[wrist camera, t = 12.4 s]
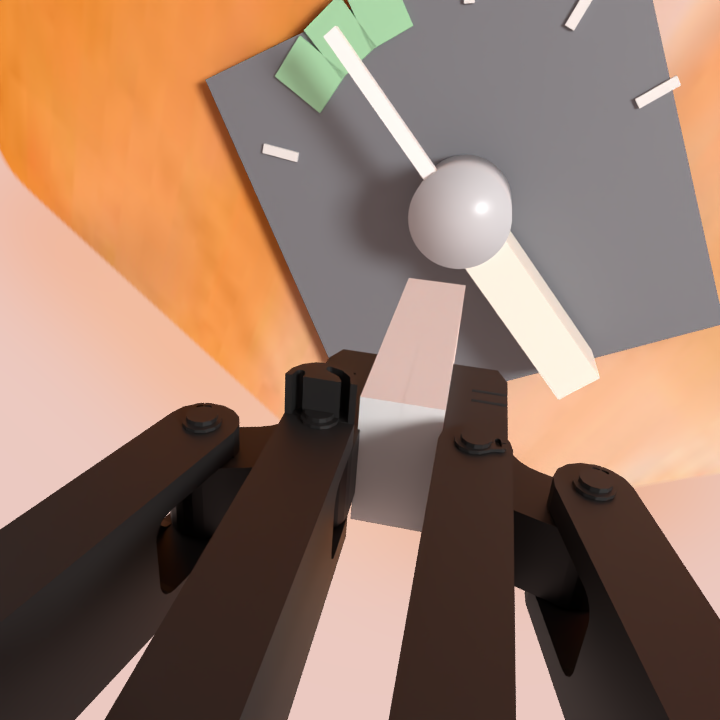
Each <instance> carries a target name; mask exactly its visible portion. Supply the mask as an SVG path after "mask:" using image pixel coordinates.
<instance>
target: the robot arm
mask: <svg viewBox="0 0 720 720" xmlns="http://www.w3.org/2000/svg"><path fill="white" fill-rule="evenodd" d="M465 287H466V285H459V284H451V283H444V282H436V281H428V280H421V279H413V278H409V279H408V281H407V283H406V286H405V288H404V291H403V293H402V296H401V298H400V301H399V303H398V306H397V308H396V310H395V313H394V315H393V318H392V320H391V323H390V325H389V328H388V330H387V332H386V335H385V337H384V340H383V342H382V345H381V347H380V350H379V352H378V354H373V353H366V352H359V351H353V350H346V349H343V350H341V351H339V352H338V353H336V354H334V355H333V356H331V357H329V359H328V361H327V362H326V363H317V362H315V363H307V364H302V365H299V366H296V367H293V368H292V369H290V370H289V371H288V372H287V373H286V374H285V413H284V415H283V417H282V418H281V420H280V422H279V424H276V425H272V426H263V427H239V417H238V415H237V414H236V413H235V412H234V411H233V410H231V409H229V408H227V407H225V406H222V405H217V404H212V403H206V404H204V403H197V404H194V405H189V406H185V407H182V408H180V409H178V410H176V411H174V412H172V413H170V414H169V415H167V416H166V417H165V418H163V419H162V420H160V421H159V422H157V423H156V424H154V425H153V426H151V427H150V428H148V429H147V430H145V431H144V432H143V433H141V434H140V435H138V436H137V437H135V438H134V439H132V440H131V441H129V442H128V443H126V444H125V445H123V446H122V447H121V448H119V449H118V450H116V451H115V452H113V453H112V454H110V455H109V456H107V457H106V458H104V459H103V460H101V461H100V462H99V463H97V464H96V465H94V466H93V467H91V468H90V469H88V470H87V471H85V472H84V473H82V474H81V475H79V476H78V477H77V478H75V479H74V480H72V481H71V482H69V483H68V484H66V485H65V486H63V487H62V488H60V489H59V490H58V491H56V492H55V493H53V494H52V495H50V496H49V497H47V498H46V499H44V500H43V501H41V502H40V503H39V504H37V505H36V506H34V507H33V508H31V509H30V510H28V511H27V512H26V513H24V514H22V515H21V516H20V517H18V518H16V519H15V520H14V521H12V522H11V523H9V524H8V525H6V526H5V527H3V528H2V529H0V720H75V719H76V718H77V717H78V716H79V715H80V714H81V713H82V712H83V711H84V709H85V708H86V707H87V706H88V705H89V704H90V703H91V702H92V701H93V700H94V699H95V698H96V697H97V696H98V694H99V693H100V692H101V691H102V690H103V689H104V688H105V687H106V686H107V685H108V684H109V682H110V681H111V680H112V679H113V678H114V677H115V676H116V675H117V674H118V673H119V672H120V671H121V670H122V669H123V668H124V667H125V666H126V665H127V663H128V662H129V661H130V660H131V659H132V658H133V657H134V656H135V655H136V654H137V653H138V652H139V651H140V649H141V648H142V647H143V646H144V645H145V644H146V643H147V642H148V641H149V640H150V639H151V638H152V637H153V636H154V637H153V638H152V640H151V642H150V643H149V645H148V647H147V648H146V650H145V652H144V654H143V655H142V657H141V659H140V660H139V662H138V664H137V665H136V667H135V669H134V671H133V672H132V674H131V676H130V677H129V679H128V681H127V682H126V684H125V686H124V688H123V689H122V691H121V693H120V694H119V696H118V698H117V700H116V701H115V703H114V705H113V706H112V708H111V710H110V711H109V713H108V715H107V716H106V718H105V720H287V719H288V716H289V713H290V709H291V707H292V704H293V700H294V697H295V694H296V691H297V688H298V685H299V682H300V678H301V675H302V672H303V669H304V666H305V663H306V660H307V656H308V653H309V650H310V647H311V644H312V641H313V637H314V634H315V631H316V628H317V625H318V622H319V619H320V616H321V612H322V609H323V606H324V603H325V600H326V597H327V594H328V590H329V587H330V584H331V581H332V578H333V575H334V572H335V568H336V565H337V562H338V559H339V556H340V553H341V550H342V546H343V543H344V540H345V537H346V526H347V515H348V512H349V509H350V506H351V503H352V507H351V519H355V520H361V521H366V522H371V523H377V524H382V525H387V526H393V527H398V528H404V529H409V530H414V531H420V532H422V533H421V539H420V544H419V550H418V556H417V561H416V567H415V573H414V578H413V585H412V590H411V596H410V602H409V607H408V613H407V618H406V624H405V630H404V636H403V641H402V647H401V652H400V659H399V664H398V670H397V676H396V681H395V687H394V692H393V698H392V704H391V710H390V716H389V720H516V689H515V688H516V686H515V607H514V606H515V604H514V602H515V601H514V600H515V598H514V586H515V587H518V588H520V589H522V590H524V591H525V602H526V606H527V609H528V612H529V614H530V618H531V620H532V623H533V626H534V630H535V633H536V635H537V638H538V641H539V644H540V647H541V650H542V653H543V656H544V659H545V662H546V665H547V668H548V670H549V674H550V677H551V680H552V682H553V686H554V689H555V691H556V694H557V697H558V700H559V703H560V706H561V709H562V712H563V715H564V718H565V720H720V619H719V617H718V616H717V614H716V613H715V611H714V610H713V608H712V607H711V605H710V604H709V602H708V601H707V599H706V598H705V596H704V595H703V593H702V592H701V590H700V588H699V587H698V586H697V584H696V582H695V581H694V579H693V578H692V576H691V575H690V573H689V572H688V570H687V569H686V567H685V566H684V565H683V563H682V561H681V560H680V558H679V557H678V555H677V554H676V552H675V550H674V549H673V547H672V546H671V544H670V543H669V541H668V540H667V538H666V537H665V535H664V534H663V532H662V531H661V529H660V528H659V526H658V525H657V523H656V522H655V520H654V518H653V517H652V515H651V514H650V512H649V511H648V509H647V508H646V507H645V505H644V503H643V502H642V500H641V499H640V497H639V496H638V494H637V493H636V491H635V490H634V488H633V487H632V486H631V485H630V484H629V483H628V482H627V481H626V480H625V479H624V478H623V477H621V476H619V475H618V474H616V473H614V472H613V471H611V470H609V469H606V468H604V467H603V468H602V467H601V466H597V465H591V464H584V463H576V464H567V465H565V466H563V467H561V468H558V469H557V471H556V473H555V474H554V476H553V477H551V476H548V475H546V474H543V473H540V472H538V471H536V470H533V469H531V468H529V467H527V466H526V465H524V464H523V463H521V462H520V461H519V460H518V459H517V458H515V457H514V456H513V449H512V447H511V444H510V442H509V441H508V418H507V381H506V380H505V379H504V378H503V376H502V375H501V374H500V373H499V371H498V370H491V369H484V368H478V367H471V366H464V365H458V364H454V361H455V354H456V348H457V341H458V334H459V328H460V321H461V314H462V307H463V301H464V294H465ZM169 512H170V514H169V515H167V514H168V513H169ZM166 515H167V516H166Z"/></svg>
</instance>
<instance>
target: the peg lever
mask: <svg viewBox="0 0 720 720" xmlns="http://www.w3.org/2000/svg"><path fill="white" fill-rule="evenodd" d="M323 37H324V38H325V40H326V41H327V43H328V44H329V46H330V47H331V48H332V50H333V51H334V53H335V54H336V56H337V57H338V58H339V60H340V61H341V63H342V64H343V66H344V67H345V68H346V70H347V71H348V73H349V74H350V75H351V77H352V78H353V80H354V81H355V83H356V84H357V85H358V87H359V88H360V90H361V91H362V93H363V94H364V95H365V97H366V98H367V100H368V101H369V103H370V104H371V105H372V107H373V108H374V110H375V111H376V113H377V114H378V115H379V117H380V118H381V120H382V121H383V122H384V124H385V125H386V127H387V128H388V130H389V131H390V132H391V134H392V135H393V137H394V138H395V140H396V141H397V142H398V144H399V145H400V147H401V148H402V150H403V151H404V152H405V154H406V155H407V157H408V158H409V160H410V161H411V162H412V164H413V165H414V167H415V168H416V169H417V171H418V172H419V174H420V175H421V177H422V178H423V179H424V180H423V181H422V183H421V184H420V186H419V187H418V189H417V190H416V192H415V194H414V196H413V198H412V200H411V203H410V207H409V213H408V224H409V230H410V233H411V237H412V239H413V241H414V243H415V245H416V246H417V248H418V249H419V250H420V251H421V253H422V254H423V255H424V256H426V257H427V258H428V259H429V260H431V261H432V262H434V263H436V264H438V265H441V266H443V267H447V268H453V269H466V270H467V272H468V273H469V275H470V276H471V277H472V279H473V280H474V282H475V283H476V284H477V286H478V287H479V289H480V290H481V292H482V293H483V294H484V296H485V297H486V299H487V300H488V301H489V303H490V304H491V306H492V307H493V308H494V310H495V311H496V313H497V314H498V315H499V317H500V318H501V320H502V321H503V322H504V324H505V325H506V327H507V328H508V329H509V331H510V332H511V334H512V335H513V337H514V338H515V339H516V341H517V342H518V344H519V345H520V346H521V348H522V349H523V351H524V352H525V353H526V355H527V356H528V358H529V359H530V360H531V362H532V363H533V365H534V366H535V367H536V369H537V370H538V372H539V373H540V375H541V376H542V377H543V379H544V380H545V382H546V383H547V384H548V386H549V387H550V389H551V390H552V391H553V393H554V394H555V396H556V397H557V398H558V400H559V399H561V398H563V397H565V396H567V395H568V394H570V393H572V392H574V391H576V390H578V389H580V388H582V387H584V386H586V385H588V384H589V383H591V382H593V381H595V380H597V379H599V378H600V377H599V373H598V370H597V366H596V363H595V359H594V356H593V352H592V350H591V348H590V347H589V345H588V344H587V342H586V341H585V340H584V338H583V337H582V335H581V334H580V332H579V331H578V329H577V328H576V326H575V325H574V323H573V322H572V320H571V319H570V318H569V316H568V315H567V313H566V312H565V310H564V309H563V307H562V306H561V304H560V303H559V301H558V300H557V298H556V297H555V295H554V294H553V293H552V291H551V290H550V288H549V287H548V285H547V284H546V282H545V281H544V279H543V278H542V276H541V275H540V273H539V272H538V271H537V269H536V268H535V266H534V265H533V263H532V262H531V260H530V259H529V257H528V256H527V254H526V253H525V251H524V250H523V249H522V247H521V246H520V244H519V243H518V241H517V240H516V238H515V237H514V235H513V234H512V232H511V231H510V229H511V224H512V198H511V191H510V187H509V184H508V181H507V179H506V177H505V176H504V174H503V173H502V172H501V170H500V169H499V168H498V167H497V166H496V165H494V164H493V163H492V162H490V161H488V160H487V159H485V158H482V157H479V156H475V155H457V156H453V157H450V158H447V159H445V160H443V161H441V162H440V163H438V164H437V165H436V166H434V164H433V163H432V161H431V160H430V159H429V157H428V156H427V154H426V153H425V151H424V150H423V148H422V147H421V146H420V144H419V143H418V141H417V140H416V138H415V137H414V135H413V134H412V133H411V131H410V130H409V128H408V127H407V125H406V124H405V122H404V121H403V120H402V118H401V117H400V115H399V114H398V112H397V111H396V109H395V108H394V107H393V105H392V104H391V102H390V101H389V99H388V98H387V97H386V95H385V94H384V92H383V91H382V89H381V88H380V86H379V85H378V84H377V82H376V81H375V79H374V78H373V76H372V75H371V73H370V72H369V71H368V69H367V68H366V66H365V65H364V63H363V62H362V60H361V59H360V58H359V56H358V55H357V53H356V52H355V50H354V49H353V48H352V46H351V45H350V43H349V42H348V40H347V39H346V37H345V36H344V35H343V33H342V32H341V30H340V29H339V27H338V26H334V27H333V28H332V29H331V30H330V31H329V32H328V33H327V34H326V35H324V36H323Z"/></svg>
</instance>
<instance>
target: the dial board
mask: <svg viewBox="0 0 720 720" xmlns="http://www.w3.org/2000/svg"><path fill="white" fill-rule="evenodd" d="M348 2H349V4H350V6H351V8H352V9H349V8H348V7H347V5H346V4H345V3H344V1H343V0H333V1H332V2H331V3H330V4H329V5H328V6H327V7H326V8H325V9H324V10H323V11H322V12H321V13H320V14H319V15H318V16H317V17H316V18H315V19H314V20H313V21H312V22H311V23H310V24H309V25H308V26H307V27H306V28H305V29H304V31H305V32H302V33H300V34H298V35H296V36H294V37H292V38H290V39H288V40H286V41H284V42H282V43H280V44H278V45H276V46H274V47H272V48H270V49H268V50H266V51H263V52H261V53H259V54H257V55H255V56H253V57H251V58H249V59H247V60H245V61H243V62H241V63H239V64H237V65H235V66H233V67H231V68H229V69H227V70H224V71H222V72H220V73H218V74H216V75H214V76H212V77H210V78H208V79H206V82H207V84H208V87H209V89H210V91H211V93H212V96H213V98H214V100H215V102H216V105H217V107H218V109H219V111H220V114H221V116H222V118H223V120H224V123H225V125H226V127H227V129H228V132H229V134H230V136H231V138H232V141H233V143H234V145H235V148H236V150H237V152H238V154H239V157H240V159H241V161H242V163H243V166H244V168H245V170H246V172H247V175H248V177H249V179H250V181H251V184H252V186H253V188H254V190H255V193H256V195H257V197H258V199H259V202H260V204H261V206H262V208H263V211H264V213H265V215H266V217H267V220H268V222H269V224H270V226H271V229H272V231H273V233H274V236H275V238H276V240H277V242H278V245H279V247H280V249H281V251H282V254H283V256H284V258H285V260H286V263H287V265H288V267H289V269H290V272H291V274H292V276H293V278H294V281H295V283H296V285H297V287H298V290H299V292H300V294H301V296H302V299H303V301H304V303H305V305H306V308H307V310H308V312H309V314H310V317H311V319H312V321H313V324H314V326H315V328H316V330H317V333H318V335H319V337H320V339H321V342H322V344H323V346H324V348H325V351H326V353H327V355H328V357H331V356H333V355H334V354H336V353H338V352H339V351H341V350H343V349H346V350H353V351H359V352H366V353H373V354H378V352H379V350H380V347H381V345H382V342H383V340H384V337H385V335H386V332H387V330H388V328H389V325H390V323H391V320H392V318H393V315H394V313H395V310H396V308H397V306H398V303H399V301H400V298H401V296H402V293H403V291H404V288H405V286H406V283H407V281H408V279H409V278H413V279H421V280H428V281H436V282H444V283H451V284H459V285H466V287H465V294H464V301H463V307H462V314H461V321H460V328H459V334H458V341H457V348H456V354H455V361H454V364H458V365H464V366H471V367H478V368H484V369H491V370H498V371H499V373H500V374H501V375H502V376H503V378H504V379H505V380H506V381H509V380H513V379H516V378H520V377H524V376H528V375H532V374H535V373H539V372H538V370H537V369H536V367H535V366H534V365H533V363H532V362H531V360H530V359H529V358H528V356H527V355H526V353H525V352H524V351H523V349H522V348H521V346H520V345H519V344H518V342H517V341H516V339H515V338H514V337H513V335H512V334H511V332H510V331H509V329H508V328H507V327H506V325H505V324H504V322H503V321H502V320H501V318H500V317H499V315H498V314H497V313H496V311H495V310H494V308H493V307H492V306H491V304H490V303H489V301H488V300H487V299H486V297H485V296H484V294H483V293H482V292H481V290H480V289H479V287H478V286H477V284H476V283H475V282H474V280H473V279H472V277H471V276H470V275H469V273H468V272H467V270H466V269H453V268H447V267H443V266H441V265H438V264H436V263H434V262H432V261H431V260H429V259H428V258H427V257H426V256H424V255H423V254H422V253H421V251H420V250H419V249H418V248H417V246H416V245H415V243H414V241H413V239H412V237H411V233H410V230H409V224H408V213H409V207H410V203H411V200H412V198H413V196H414V194H415V192H416V190H417V189H418V187H419V186H420V184H421V183H422V181H423V180H424V179H423V178H422V177H421V175H420V174H419V172H418V171H417V169H416V168H415V167H414V165H413V164H412V162H411V161H410V160H409V158H408V157H407V155H406V154H405V152H404V151H403V150H402V148H401V147H400V145H399V144H398V142H397V141H396V140H395V138H394V137H393V135H392V134H391V132H390V131H389V130H388V128H387V127H386V125H385V124H384V122H383V121H382V120H381V118H380V117H379V115H378V114H377V113H376V111H375V110H374V108H373V107H372V105H371V104H370V103H369V101H368V100H367V98H366V97H365V95H364V94H363V93H362V91H361V90H360V88H359V87H358V85H357V84H356V83H355V81H354V80H353V78H352V77H351V75H350V74H349V73H348V71H347V70H346V68H345V67H344V66H343V64H342V63H341V61H340V60H339V58H338V57H337V56H336V54H335V53H334V51H333V50H332V48H331V47H330V46H329V44H328V43H327V41H326V40H325V38H324V37H323V36H324V35H326V34H327V33H328V32H329V31H330V30H331V29H332V28H333V27H334V26H338V27H339V29H340V30H341V32H342V33H343V35H344V36H345V37H346V39H347V40H348V42H349V43H350V45H351V46H352V48H353V49H354V50H355V52H356V53H357V55H358V56H359V58H360V59H361V60H362V62H363V63H364V65H365V66H366V68H367V69H368V71H369V72H370V73H371V75H372V76H373V78H374V79H375V81H376V82H377V84H378V85H379V86H380V88H381V89H382V91H383V92H384V94H385V95H386V97H387V98H388V99H389V101H390V102H391V104H392V105H393V107H394V108H395V109H396V111H397V112H398V114H399V115H400V117H401V118H402V120H403V121H404V122H405V124H406V125H407V127H408V128H409V130H410V131H411V133H412V134H413V135H414V137H415V138H416V140H417V141H418V143H419V144H420V146H421V147H422V148H423V150H424V151H425V153H426V154H427V156H428V157H429V159H430V160H431V161H432V163H433V164H434V166H436V165H437V164H438V163H440V162H441V161H443V160H445V159H447V158H450V157H453V156H457V155H475V156H479V157H482V158H485V159H487V160H488V161H490V162H492V163H493V164H494V165H496V166H497V167H498V168H499V169H500V170H501V172H502V173H503V174H504V176H505V177H506V179H507V181H508V184H509V187H510V191H511V198H512V224H511V229H510V231H511V232H512V234H513V235H514V237H515V238H516V240H517V241H518V243H519V244H520V246H521V247H522V249H523V250H524V251H525V253H526V254H527V256H528V257H529V259H530V260H531V262H532V263H533V265H534V266H535V268H536V269H537V271H538V272H539V273H540V275H541V276H542V278H543V279H544V281H545V282H546V284H547V285H548V287H549V288H550V290H551V291H552V293H553V294H554V295H555V297H556V298H557V300H558V301H559V303H560V304H561V306H562V307H563V309H564V310H565V312H566V313H567V315H568V316H569V318H570V319H571V320H572V322H573V323H574V325H575V326H576V328H577V329H578V331H579V332H580V334H581V335H582V337H583V338H584V340H585V341H586V342H587V344H588V345H589V347H590V348H591V350H592V352H593V356H594V358H596V357H600V356H604V355H608V354H611V353H615V352H619V351H623V350H626V349H630V348H634V347H638V346H642V345H645V344H649V343H653V342H657V341H661V340H664V339H668V338H672V337H676V336H680V335H683V334H687V333H691V332H695V331H699V330H702V329H706V328H710V327H714V326H718V325H720V304H719V299H718V295H717V290H716V286H715V281H714V277H713V272H712V268H711V263H710V259H709V254H708V249H707V245H706V240H705V236H704V231H703V227H702V222H701V218H700V213H699V209H698V204H697V200H696V195H695V191H694V186H693V181H692V177H691V172H690V168H689V163H688V159H687V154H686V150H685V145H684V141H683V136H682V132H681V127H680V123H679V118H678V113H677V109H676V104H675V100H674V95H673V91H672V90H673V89H675V88H677V87H679V86H680V85H681V84H680V82H679V79H678V77H677V75H676V76H674V77H672V78H670V77H669V73H668V68H667V64H666V59H665V55H664V50H663V46H662V41H661V36H660V32H659V27H658V23H657V18H656V14H655V9H654V5H653V0H348Z"/></svg>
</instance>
